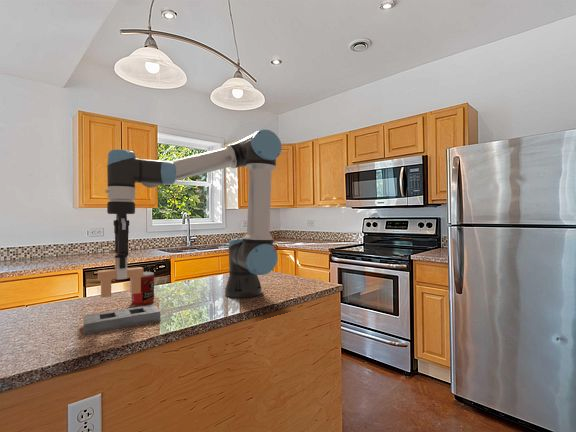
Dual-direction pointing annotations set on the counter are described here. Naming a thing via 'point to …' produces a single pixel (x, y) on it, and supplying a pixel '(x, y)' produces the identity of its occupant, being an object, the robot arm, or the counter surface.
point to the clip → (109, 275)
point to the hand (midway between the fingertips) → (121, 277)
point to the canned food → (145, 290)
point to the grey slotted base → (120, 319)
